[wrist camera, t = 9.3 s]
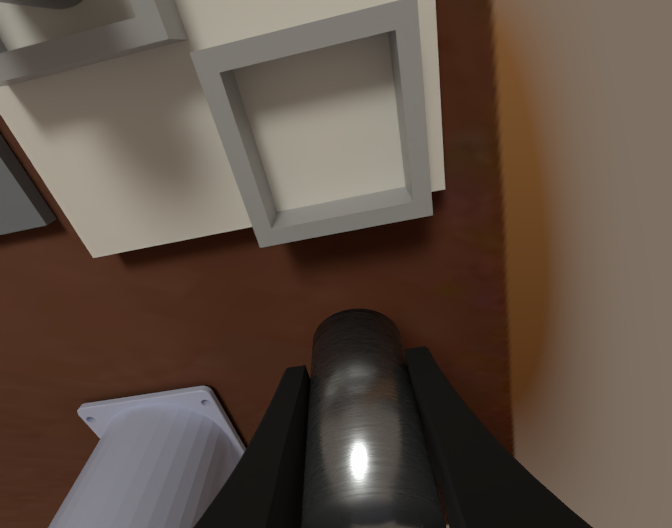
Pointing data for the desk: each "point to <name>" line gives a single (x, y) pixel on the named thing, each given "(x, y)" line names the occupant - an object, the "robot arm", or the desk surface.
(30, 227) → the tile
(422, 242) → the desk surface
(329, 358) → the pin
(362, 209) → the build board
